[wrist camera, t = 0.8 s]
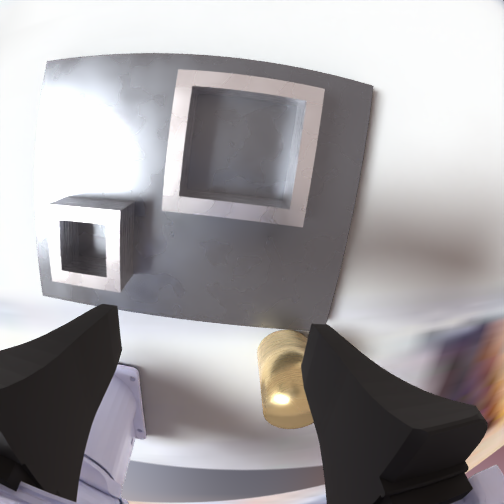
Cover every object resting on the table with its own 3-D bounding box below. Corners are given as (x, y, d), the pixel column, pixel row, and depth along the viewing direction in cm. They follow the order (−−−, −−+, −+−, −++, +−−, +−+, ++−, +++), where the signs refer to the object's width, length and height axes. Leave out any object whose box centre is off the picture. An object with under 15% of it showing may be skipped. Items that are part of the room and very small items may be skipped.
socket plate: (318, 320, 22) (333, 353, 19) (52, 286, 21) (25, 312, 17) (364, 89, 17) (392, 79, 13) (58, 65, 15) (25, 54, 12)
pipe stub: (303, 372, 24) (318, 428, 18) (253, 370, 24) (258, 428, 18) (315, 331, 23) (336, 386, 17) (261, 327, 22) (269, 384, 17)
